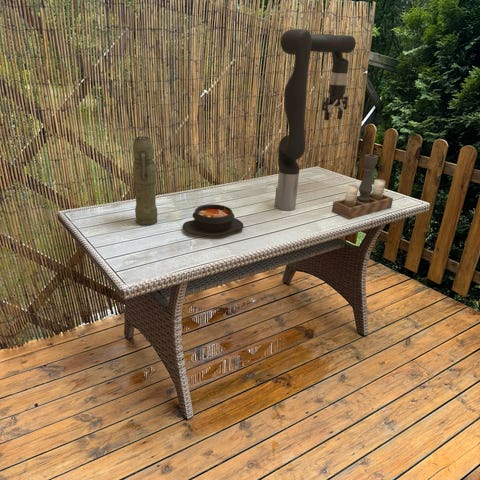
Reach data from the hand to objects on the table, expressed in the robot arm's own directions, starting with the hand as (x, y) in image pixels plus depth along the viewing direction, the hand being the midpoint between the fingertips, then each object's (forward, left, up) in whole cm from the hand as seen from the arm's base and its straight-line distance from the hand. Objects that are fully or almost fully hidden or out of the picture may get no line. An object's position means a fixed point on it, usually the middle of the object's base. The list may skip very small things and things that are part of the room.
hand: (333, 119), depth 201 cm
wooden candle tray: (+22, -11, -38) cm, 45 cm away
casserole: (-31, -65, -38) cm, 82 cm away
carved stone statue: (-59, -71, -38) cm, 100 cm away
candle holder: (+21, -11, -37) cm, 44 cm away
